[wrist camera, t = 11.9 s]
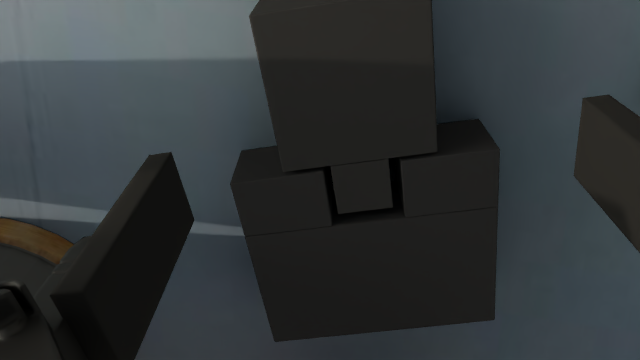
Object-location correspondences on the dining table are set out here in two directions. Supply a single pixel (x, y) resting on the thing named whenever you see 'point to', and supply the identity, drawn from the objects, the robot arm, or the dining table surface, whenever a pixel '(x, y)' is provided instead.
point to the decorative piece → (29, 253)
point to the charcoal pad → (375, 241)
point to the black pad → (348, 88)
